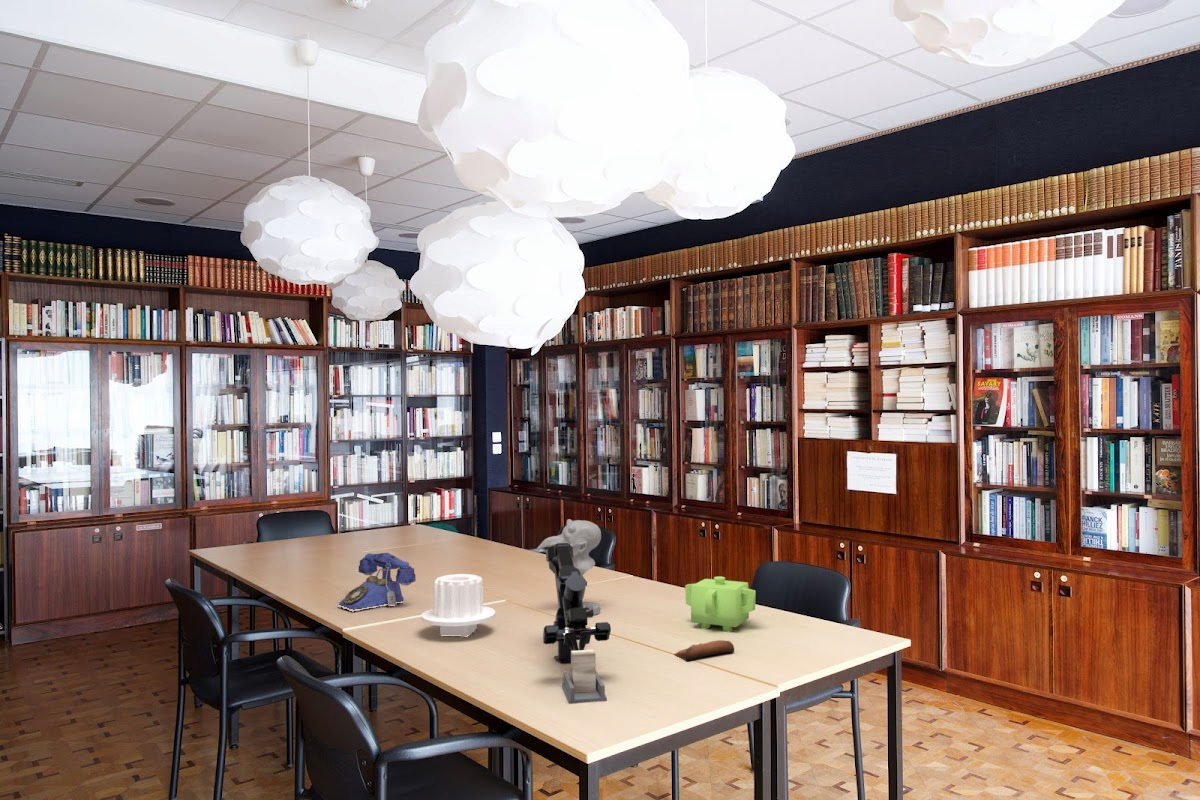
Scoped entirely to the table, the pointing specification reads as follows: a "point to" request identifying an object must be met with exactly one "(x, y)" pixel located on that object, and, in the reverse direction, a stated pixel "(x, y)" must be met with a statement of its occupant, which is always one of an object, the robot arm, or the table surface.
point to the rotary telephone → (379, 582)
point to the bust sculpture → (579, 546)
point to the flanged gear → (458, 605)
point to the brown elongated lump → (705, 650)
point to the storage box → (720, 602)
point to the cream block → (583, 670)
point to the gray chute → (583, 696)
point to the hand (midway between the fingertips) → (580, 660)
